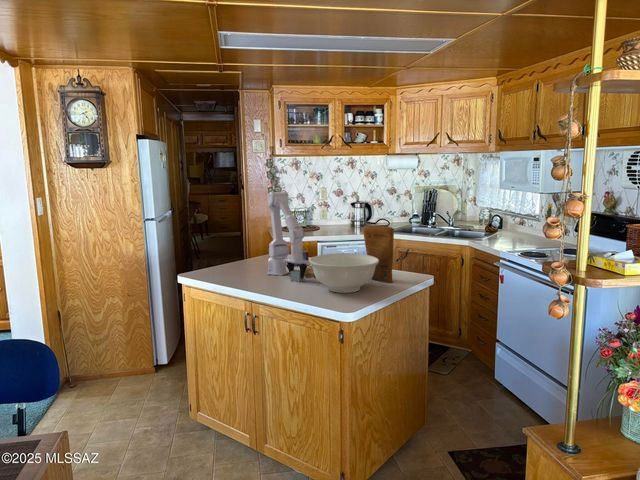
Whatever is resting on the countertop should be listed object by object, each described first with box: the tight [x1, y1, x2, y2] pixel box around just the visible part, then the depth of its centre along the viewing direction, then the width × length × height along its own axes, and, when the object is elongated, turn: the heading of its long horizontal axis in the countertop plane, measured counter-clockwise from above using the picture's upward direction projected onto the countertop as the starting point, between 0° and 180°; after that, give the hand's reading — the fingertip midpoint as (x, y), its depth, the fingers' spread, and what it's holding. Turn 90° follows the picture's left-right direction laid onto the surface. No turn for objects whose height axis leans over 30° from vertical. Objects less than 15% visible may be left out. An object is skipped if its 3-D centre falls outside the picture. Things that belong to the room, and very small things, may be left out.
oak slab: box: [305, 265, 314, 274], centre depth 250 cm, size 6×6×2 cm
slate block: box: [289, 269, 305, 283], centre depth 241 cm, size 5×5×5 cm
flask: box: [294, 249, 310, 267], centre depth 275 cm, size 9×3×11 cm, turn 76°
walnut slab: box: [304, 273, 316, 278], centre depth 251 cm, size 6×6×2 cm
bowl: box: [309, 252, 379, 294], centre depth 223 cm, size 32×32×15 cm
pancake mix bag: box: [362, 225, 395, 283], centre depth 238 cm, size 7×19×28 cm, turn 40°
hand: (297, 277), depth 241 cm, fingers closed on slate block, 5 cm apart
